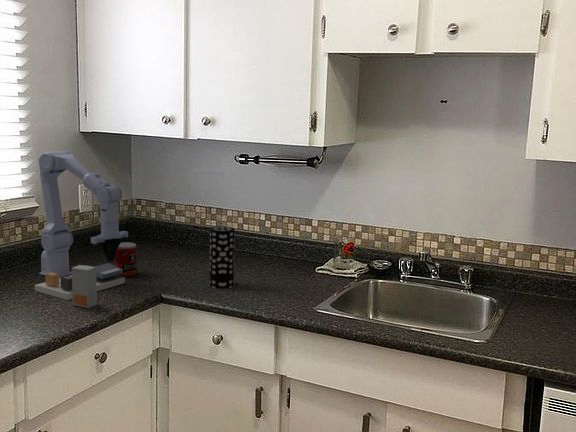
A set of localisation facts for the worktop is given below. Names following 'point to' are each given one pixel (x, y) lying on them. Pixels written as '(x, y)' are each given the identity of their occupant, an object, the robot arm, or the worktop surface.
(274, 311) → the worktop surface
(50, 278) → the orange fader knob
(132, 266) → the canned food
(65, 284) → the black fader knob
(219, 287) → the white-spotted black cylinder
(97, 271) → the rocker
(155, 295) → the worktop surface
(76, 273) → the skincare box
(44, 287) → the panel
